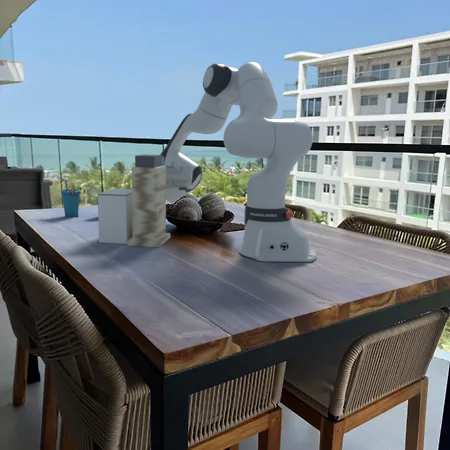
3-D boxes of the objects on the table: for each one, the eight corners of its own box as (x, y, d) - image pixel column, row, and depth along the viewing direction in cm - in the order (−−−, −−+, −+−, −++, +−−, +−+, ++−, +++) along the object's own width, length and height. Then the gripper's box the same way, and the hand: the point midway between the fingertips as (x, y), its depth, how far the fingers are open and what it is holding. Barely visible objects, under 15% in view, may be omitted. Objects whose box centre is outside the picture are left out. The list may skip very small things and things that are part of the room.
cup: (53, 214, 188) (52, 178, 185) (71, 212, 193) (70, 177, 190) (69, 219, 178) (67, 181, 175) (87, 217, 183) (86, 180, 180)
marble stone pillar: (170, 237, 152) (170, 165, 148) (158, 247, 139) (158, 168, 134) (141, 235, 154) (140, 164, 149) (127, 245, 140) (126, 167, 135)
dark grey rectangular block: (169, 164, 154) (169, 153, 153) (154, 167, 137) (154, 156, 136) (151, 163, 154) (151, 153, 154) (135, 167, 137) (135, 155, 137)
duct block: (140, 234, 156) (139, 189, 153) (126, 243, 142) (125, 194, 139) (115, 233, 157) (114, 188, 154) (99, 242, 143) (97, 193, 140)
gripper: (142, 171, 168) (131, 153, 155) (196, 173, 165) (189, 155, 152) (139, 187, 166) (128, 170, 153) (194, 189, 163) (187, 172, 150)
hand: (159, 162), depth 152 cm, fingers open, 8 cm apart
